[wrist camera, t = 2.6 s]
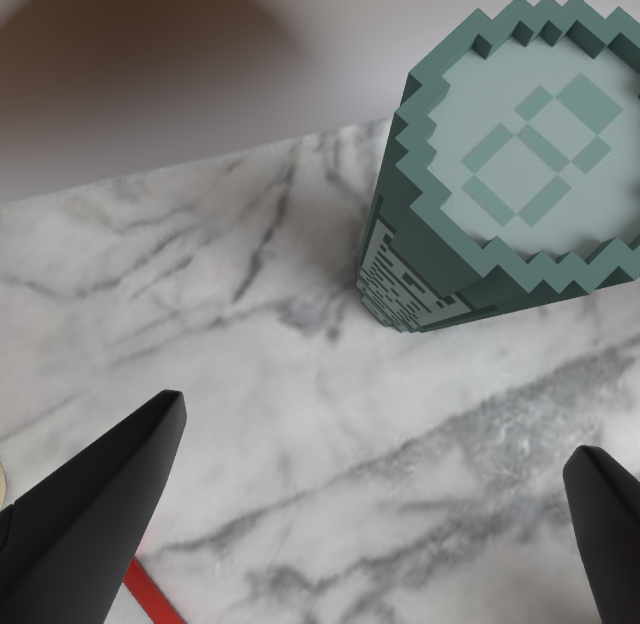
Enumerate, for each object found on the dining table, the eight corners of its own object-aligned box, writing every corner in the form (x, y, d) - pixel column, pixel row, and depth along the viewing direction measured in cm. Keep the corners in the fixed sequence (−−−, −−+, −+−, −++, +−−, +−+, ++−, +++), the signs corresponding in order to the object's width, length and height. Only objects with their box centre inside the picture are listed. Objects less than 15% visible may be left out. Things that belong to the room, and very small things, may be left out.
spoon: (292, 707, 21) (290, 724, 20) (234, 761, 21) (229, 782, 20) (110, 474, 22) (99, 480, 21) (54, 523, 22) (41, 531, 21)
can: (487, 278, 23) (776, 138, 8) (411, 353, 23) (561, 354, 8) (410, 204, 23) (545, -56, 8) (335, 276, 23) (338, 137, 8)
